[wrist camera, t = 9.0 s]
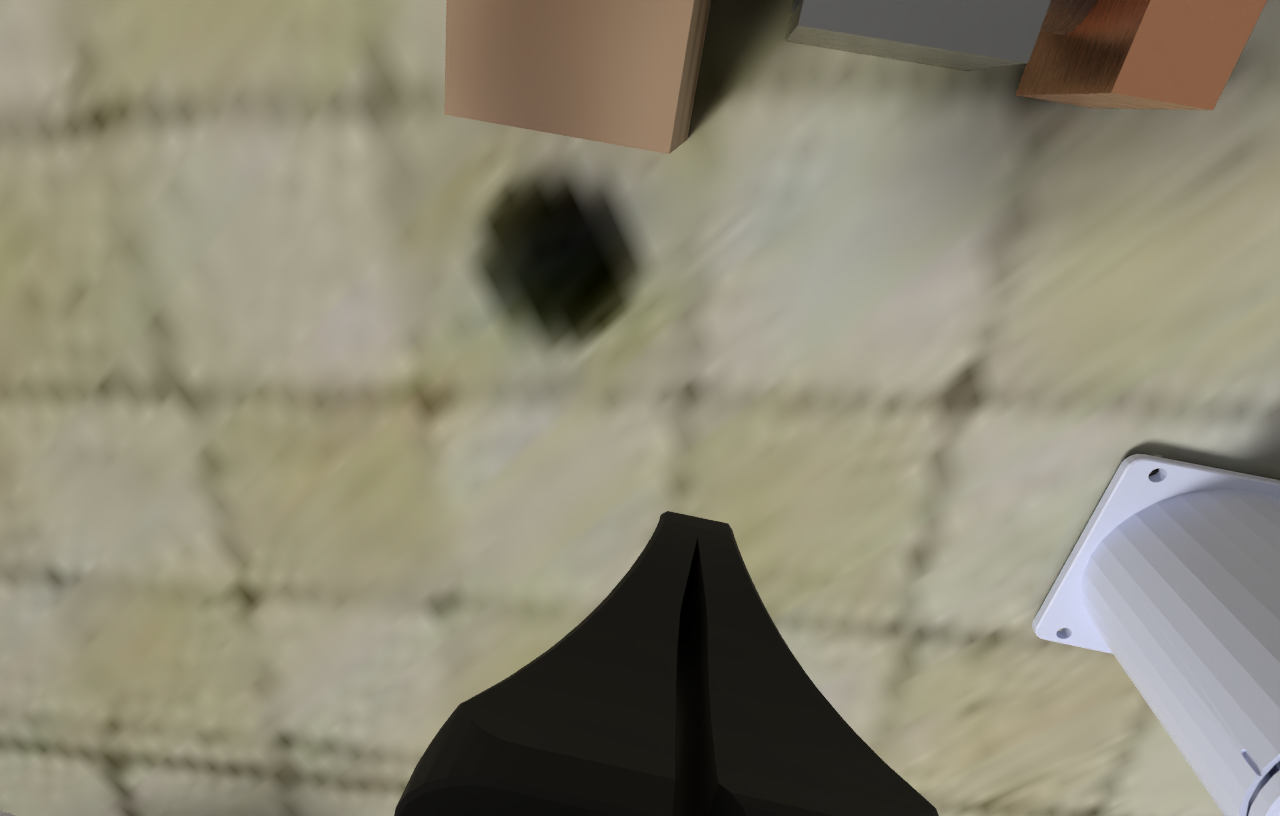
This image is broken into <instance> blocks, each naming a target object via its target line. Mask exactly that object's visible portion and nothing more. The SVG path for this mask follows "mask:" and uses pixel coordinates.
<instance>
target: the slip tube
mask: <svg viewBox="0 0 1280 816" xmlns="http://www.w3.org/2000/svg"><path fill="white" fill-rule="evenodd" d="M1266 2H1267V0H1051V2H1050V5H1049V8H1048V10H1047V13H1046V16H1045V18H1044V21H1043V24H1042V27H1041V29H1040V32H1039V35H1038V37H1037V40H1036V43H1035V46H1034V48H1033V51H1032V54H1031V57H1030V59H1029V62H1028V63H1027V64H1026V67H1025V70H1024V72H1023V75H1022V78H1021V81H1020V83H1019V86H1018V89H1017V91H1016V94H1015V95H1016V96H1022V97H1028V98H1034V99H1040V100H1046V101H1053V102H1059V103H1065V104H1071V105H1077V106H1083V107H1089V108H1131V109H1189V110H1213V109H1214V107H1215V105H1216V103H1217V101H1218V99H1219V97H1220V95H1221V93H1222V91H1223V89H1224V87H1225V85H1226V83H1227V81H1228V79H1229V77H1230V75H1231V73H1232V71H1233V69H1234V67H1235V64H1236V62H1237V60H1238V58H1239V56H1240V54H1241V52H1242V50H1243V48H1244V46H1245V44H1246V42H1247V40H1248V38H1249V36H1250V34H1251V32H1252V30H1253V28H1254V26H1255V24H1256V22H1257V20H1258V18H1259V16H1260V14H1261V12H1262V10H1263V8H1264V6H1265V4H1266Z"/></svg>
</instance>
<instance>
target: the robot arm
mask: <svg viewBox="0 0 1280 816" xmlns="http://www.w3.org/2000/svg"><path fill="white" fill-rule="evenodd" d="M1159 468H1160V469H1159ZM1155 469H1159V471H1158V472H1157V473H1156V474H1155V475H1152V476H1149V474H1150V472H1151V471H1152V470H1155ZM1032 627H1033V630H1034V631H1035V633H1036V635H1037V636H1038V637H1039V638H1042V639H1044V640H1049V641H1054V642H1058V643H1063V644H1068V645H1073V646H1078V647H1082V648H1087V649H1092V650H1097V651H1102V652H1106V653H1111V654H1114V655H1115V657H1116V658H1117V660H1118V661H1119V663H1120V664H1121V666H1122V667H1123V669H1124V670H1125V671H1126V673H1127V674H1128V676H1129V677H1130V679H1131V680H1132V682H1133V683H1134V685H1135V686H1136V687H1137V689H1138V690H1139V692H1140V693H1141V695H1142V696H1143V698H1144V699H1145V701H1146V702H1147V703H1148V705H1149V706H1150V708H1151V709H1152V711H1153V712H1154V714H1155V715H1156V717H1157V718H1158V720H1159V721H1160V722H1161V724H1162V725H1163V727H1164V728H1165V730H1166V731H1167V733H1168V734H1169V736H1170V737H1171V738H1172V740H1173V741H1174V743H1175V744H1176V746H1177V747H1178V749H1179V750H1180V752H1181V753H1182V755H1183V756H1184V757H1185V759H1186V760H1187V762H1188V763H1189V765H1190V766H1191V768H1192V769H1193V771H1194V772H1195V773H1196V775H1197V776H1198V778H1199V779H1200V781H1201V782H1202V784H1203V785H1204V787H1205V788H1206V790H1207V791H1208V792H1209V794H1210V795H1211V797H1212V798H1213V800H1214V801H1215V803H1216V804H1217V806H1218V807H1219V808H1220V810H1221V811H1222V813H1223V814H1224V816H1280V480H1276V479H1270V478H1265V477H1260V476H1255V475H1250V474H1244V473H1239V472H1234V471H1229V470H1224V469H1218V468H1213V467H1208V466H1203V465H1198V464H1192V463H1187V462H1182V461H1177V460H1172V459H1166V458H1161V457H1156V456H1151V455H1146V454H1135V455H1131V456H1129V457H1128V458H1126V459H1124V461H1123V462H1122V463H1121V464H1120V466H1119V468H1118V470H1117V472H1116V473H1115V475H1114V477H1113V479H1112V481H1111V482H1110V484H1109V486H1108V488H1107V490H1106V491H1105V493H1104V495H1103V497H1102V499H1101V500H1100V502H1099V504H1098V506H1097V507H1096V509H1095V511H1094V513H1093V515H1092V516H1091V518H1090V520H1089V522H1088V524H1087V525H1086V527H1085V529H1084V531H1083V533H1082V534H1081V536H1080V538H1079V540H1078V542H1077V543H1076V545H1075V547H1074V549H1073V551H1072V552H1071V554H1070V556H1069V558H1068V560H1067V561H1066V563H1065V565H1064V567H1063V568H1062V570H1061V572H1060V574H1059V576H1058V577H1057V579H1056V581H1055V583H1054V585H1053V586H1052V588H1051V590H1050V592H1049V594H1048V595H1047V597H1046V599H1045V601H1044V603H1043V604H1042V606H1041V608H1040V610H1039V612H1038V613H1037V615H1036V617H1035V619H1034V621H1033V624H1032ZM1062 628H1065V629H1064V630H1062V631H1058V630H1059V629H1062ZM0 816H15V815H13V814H10V813H6V812H2V811H0ZM394 816H939V815H938V813H937V810H936V808H935V807H934V806H933V805H932V804H930V803H929V802H928V801H927V800H926V799H925V798H924V797H923V796H921V795H920V794H919V793H918V792H917V791H916V790H915V789H914V788H913V787H911V786H910V785H909V784H908V783H907V782H906V781H905V780H904V779H903V778H901V777H900V776H899V775H898V774H897V773H896V772H895V771H894V770H892V769H891V768H890V767H889V766H888V765H887V764H886V763H885V762H884V761H883V760H882V759H881V758H880V757H879V756H878V755H877V754H876V753H875V752H874V751H873V750H872V749H871V748H870V747H869V746H868V745H867V744H866V743H865V742H864V741H863V740H862V739H861V738H860V737H859V736H858V735H857V734H856V733H855V732H854V731H853V729H852V728H851V727H850V726H849V725H848V724H847V723H846V722H845V721H844V720H843V718H842V717H841V716H840V715H839V714H838V712H837V711H836V710H835V709H834V708H833V707H832V705H831V704H830V703H829V702H828V701H827V699H826V698H825V697H824V696H823V695H822V693H821V692H820V691H819V690H818V689H817V687H816V686H815V685H814V683H813V682H812V681H811V679H810V678H809V677H808V675H807V674H806V673H805V671H804V670H803V668H802V667H801V665H800V664H799V663H798V661H797V660H796V658H795V657H794V655H793V654H792V652H791V651H790V649H789V648H788V646H787V644H786V643H785V641H784V640H783V638H782V636H781V635H780V633H779V631H778V630H777V628H776V626H775V624H774V623H773V621H772V619H771V617H770V616H769V614H768V612H767V610H766V608H765V606H764V604H763V602H762V600H761V598H760V596H759V594H758V592H757V590H756V588H755V586H754V584H753V582H752V580H751V578H750V575H749V573H748V571H747V569H746V566H745V564H744V561H743V559H742V556H741V554H740V551H739V549H738V546H737V543H736V540H735V537H734V534H733V531H732V529H731V527H730V526H729V524H728V523H723V522H718V521H713V520H708V519H703V518H698V517H693V516H688V515H684V514H679V513H674V512H669V511H667V512H665V513H663V514H661V516H660V520H659V523H658V525H657V527H656V530H655V532H654V533H653V535H652V537H651V539H650V540H649V542H648V544H647V545H646V547H645V549H644V550H643V552H642V553H641V554H640V556H639V557H638V559H637V560H636V561H635V563H634V564H633V566H632V567H631V569H630V570H629V571H628V572H627V574H626V575H625V576H624V577H623V578H622V580H621V581H620V582H619V583H618V584H617V586H616V587H615V588H614V589H613V590H612V592H611V593H610V594H609V595H608V596H607V597H606V598H605V599H604V600H603V601H602V603H601V604H600V605H599V606H598V607H597V608H596V609H595V610H594V611H593V612H592V613H591V614H590V615H589V616H587V617H586V618H585V619H584V620H583V621H582V622H581V623H580V624H579V625H578V626H577V627H575V628H574V629H573V630H572V631H571V632H570V633H568V634H567V635H566V636H565V637H564V638H563V639H561V640H560V641H559V642H558V643H556V644H555V645H554V646H553V647H551V648H550V649H549V650H547V651H546V652H545V653H543V654H542V655H540V656H539V657H537V658H536V659H535V660H533V661H532V662H530V663H529V664H527V665H526V666H524V667H523V668H521V669H520V670H519V671H517V672H516V673H514V674H513V675H511V676H509V677H508V678H506V679H505V680H503V681H501V682H499V683H498V684H496V685H494V686H492V687H490V688H489V689H487V690H485V691H483V692H481V693H480V694H478V695H476V696H474V697H472V698H471V699H469V700H467V701H465V702H463V703H461V704H460V705H459V706H458V707H457V708H456V710H455V711H454V712H453V713H452V715H451V716H450V717H449V718H448V720H447V721H446V722H445V724H444V725H443V726H442V728H441V729H440V730H439V732H438V733H437V735H436V736H435V737H434V739H433V740H432V742H431V743H430V745H429V746H428V748H427V750H426V751H425V753H424V754H423V756H422V757H421V759H420V761H419V762H418V764H417V766H416V768H415V770H414V772H413V774H412V776H411V778H410V780H409V782H408V784H407V786H406V788H405V790H404V792H403V794H402V797H401V799H400V801H399V803H398V805H397V807H396V810H395V815H394Z"/></svg>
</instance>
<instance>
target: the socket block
mask: <svg viewBox="0 0 1280 816" xmlns="http://www.w3.org/2000/svg"><path fill="white" fill-rule="evenodd" d="M710 5H711V0H447V14H446V67H445V114H446V115H451V116H457V117H463V118H468V119H474V120H480V121H485V122H491V123H497V124H502V125H508V126H514V127H520V128H525V129H531V130H537V131H542V132H548V133H554V134H559V135H565V136H571V137H576V138H582V139H588V140H593V141H599V142H605V143H611V144H616V145H622V146H628V147H633V148H639V149H645V150H650V151H656V152H662V153H667V154H670V153H671V152H672V151H673V150H675V149H676V148H677V147H678V146H680V145H681V144H682V143H683V142H685V141H686V140H687V139H688V133H689V127H690V121H691V116H692V110H693V104H694V98H695V92H696V86H697V81H698V75H699V69H700V63H701V57H702V52H703V46H704V40H705V34H706V28H707V22H708V17H709V11H710Z"/></svg>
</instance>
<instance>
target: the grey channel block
mask: <svg viewBox="0 0 1280 816" xmlns="http://www.w3.org/2000/svg"><path fill="white" fill-rule="evenodd" d="M1050 2H1051V0H794V3H793V7H792V12H791V16H790V21H789V25H788V30H787V34H786V39H785V41H788V42H794V43H800V44H807V45H813V46H819V47H825V48H831V49H837V50H843V51H849V52H855V53H861V54H867V55H873V56H879V57H885V58H891V59H897V60H903V61H910V62H916V63H922V64H928V65H934V66H940V67H946V68H952V69H958V70H964V71H971V70H979V69H987V68H994V67H1002V66H1009V65H1017V64H1025V63H1028V62H1029V59H1030V57H1031V54H1032V51H1033V48H1034V46H1035V43H1036V40H1037V37H1038V35H1039V32H1040V29H1041V27H1042V24H1043V21H1044V18H1045V16H1046V13H1047V10H1048V8H1049V5H1050Z"/></svg>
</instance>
